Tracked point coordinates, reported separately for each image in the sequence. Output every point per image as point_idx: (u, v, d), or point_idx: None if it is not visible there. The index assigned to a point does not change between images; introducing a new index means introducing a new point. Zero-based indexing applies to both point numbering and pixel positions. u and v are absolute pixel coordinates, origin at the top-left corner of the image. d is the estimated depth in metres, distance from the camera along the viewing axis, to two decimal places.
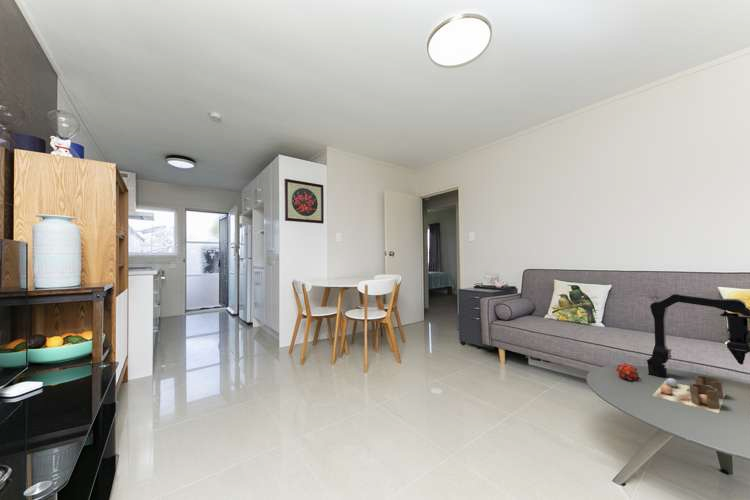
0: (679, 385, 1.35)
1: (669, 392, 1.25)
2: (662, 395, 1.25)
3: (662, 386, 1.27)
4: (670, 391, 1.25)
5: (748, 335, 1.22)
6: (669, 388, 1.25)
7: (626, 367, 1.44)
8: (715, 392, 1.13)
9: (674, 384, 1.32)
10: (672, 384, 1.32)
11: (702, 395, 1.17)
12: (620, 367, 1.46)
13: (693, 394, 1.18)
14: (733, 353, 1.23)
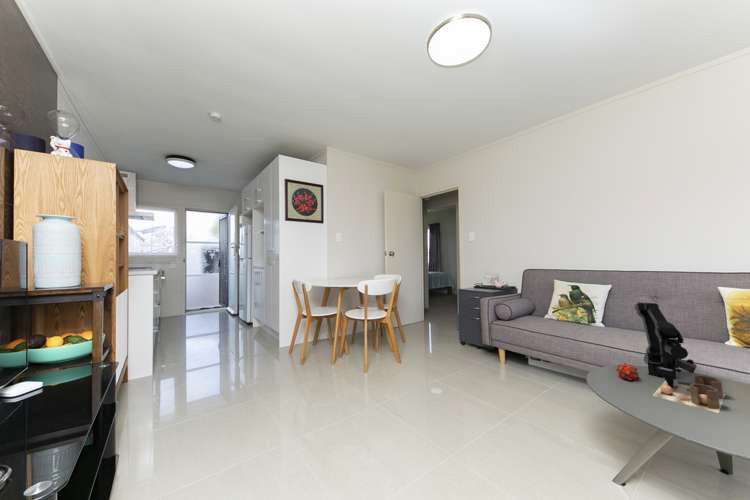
0: (679, 385, 1.35)
1: (669, 392, 1.25)
2: (662, 395, 1.25)
3: (662, 386, 1.27)
4: (670, 391, 1.25)
5: (676, 361, 1.31)
6: (669, 388, 1.25)
7: (626, 367, 1.44)
8: (715, 392, 1.13)
9: (674, 384, 1.32)
10: None
11: (702, 395, 1.17)
12: (620, 367, 1.46)
13: (693, 394, 1.18)
14: (664, 376, 1.33)
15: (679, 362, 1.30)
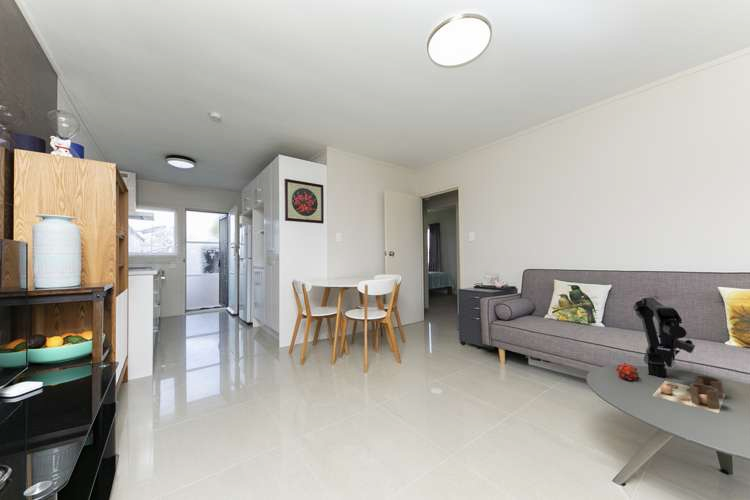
0: (679, 385, 1.35)
1: (669, 392, 1.25)
2: (662, 395, 1.25)
3: (662, 386, 1.27)
4: (670, 391, 1.25)
5: (675, 341, 1.31)
6: (669, 388, 1.25)
7: (626, 367, 1.44)
8: (715, 392, 1.13)
9: (672, 364, 1.32)
10: None
11: (702, 395, 1.17)
12: (620, 367, 1.46)
13: (693, 394, 1.18)
14: (662, 357, 1.34)
15: (677, 342, 1.30)
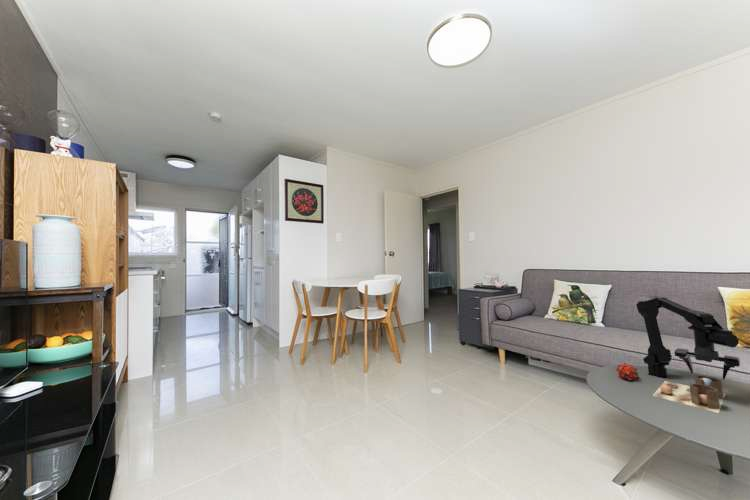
0: (679, 385, 1.35)
1: (669, 392, 1.25)
2: (662, 395, 1.25)
3: (662, 386, 1.27)
4: (670, 391, 1.25)
5: (695, 347, 1.26)
6: (669, 388, 1.25)
7: (626, 367, 1.44)
8: (715, 392, 1.13)
9: None
10: None
11: (702, 395, 1.17)
12: (620, 367, 1.46)
13: (693, 394, 1.18)
14: None
15: (695, 348, 1.26)
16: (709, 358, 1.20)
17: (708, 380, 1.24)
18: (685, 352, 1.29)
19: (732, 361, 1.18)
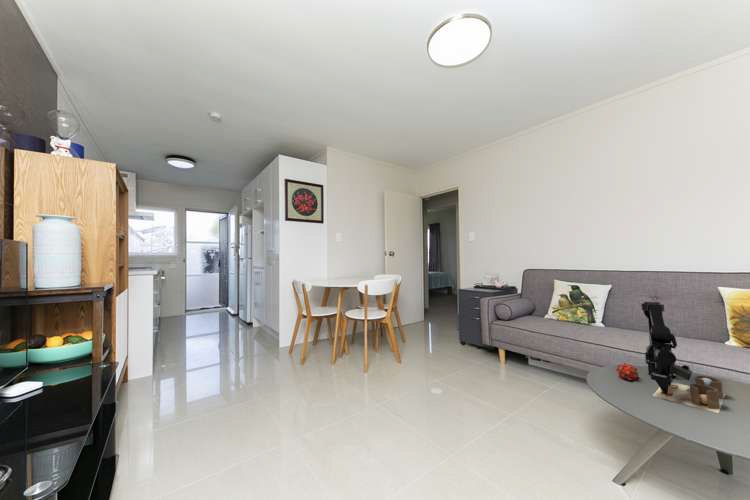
0: (679, 385, 1.35)
1: (669, 392, 1.25)
2: (662, 395, 1.25)
3: None
4: (670, 391, 1.25)
5: (671, 367, 1.24)
6: (669, 388, 1.25)
7: (626, 367, 1.44)
8: (715, 392, 1.13)
9: None
10: None
11: (702, 395, 1.17)
12: (620, 367, 1.46)
13: (693, 394, 1.18)
14: (658, 383, 1.26)
15: (674, 368, 1.23)
16: None
17: (708, 380, 1.24)
18: (669, 375, 1.22)
19: None
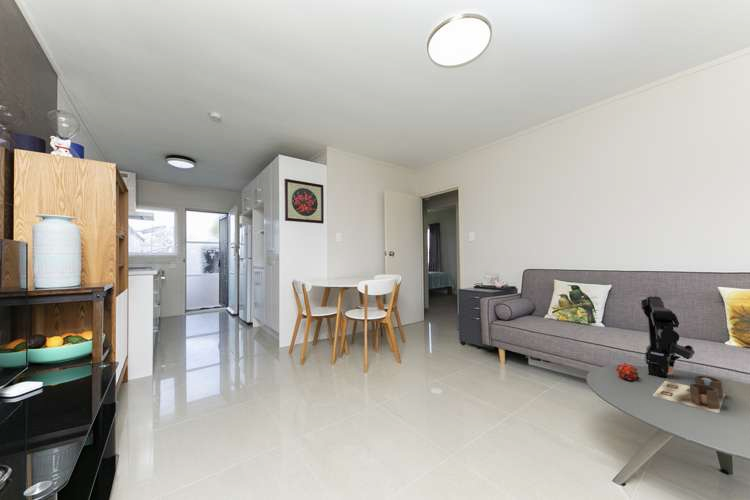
0: (679, 385, 1.35)
1: (670, 372, 1.25)
2: (662, 395, 1.25)
3: None
4: (671, 371, 1.24)
5: (671, 346, 1.23)
6: (670, 368, 1.25)
7: (626, 367, 1.44)
8: (715, 392, 1.13)
9: None
10: None
11: (702, 395, 1.17)
12: (620, 367, 1.46)
13: (693, 394, 1.18)
14: (658, 362, 1.26)
15: (674, 347, 1.23)
16: None
17: (708, 380, 1.24)
18: (668, 354, 1.22)
19: None
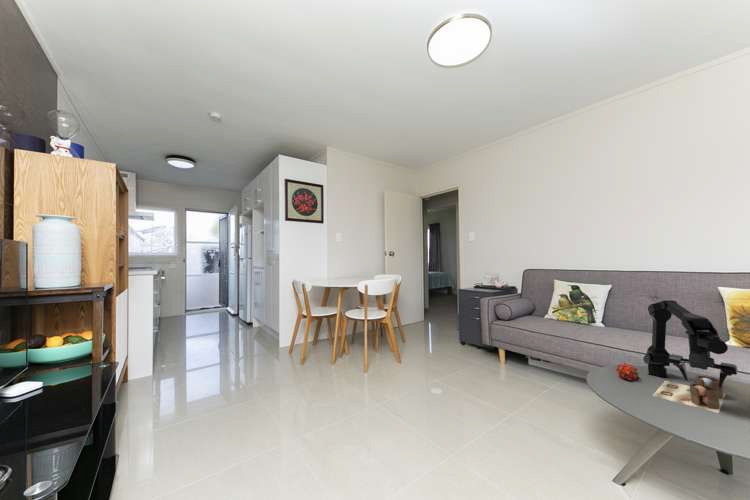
0: (679, 385, 1.35)
1: (702, 395, 1.16)
2: (662, 395, 1.25)
3: None
4: (700, 394, 1.17)
5: None
6: None
7: (626, 367, 1.44)
8: (715, 392, 1.13)
9: None
10: None
11: None
12: (620, 367, 1.46)
13: (693, 394, 1.18)
14: None
15: None
16: (704, 365, 1.12)
17: (708, 380, 1.24)
18: (679, 358, 1.21)
19: (729, 369, 1.10)
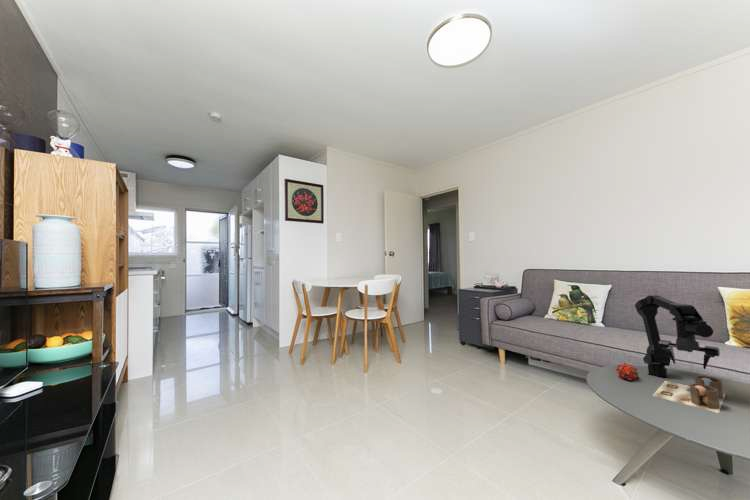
0: (679, 385, 1.35)
1: (702, 395, 1.16)
2: (662, 395, 1.25)
3: None
4: (700, 394, 1.17)
5: (677, 338, 1.29)
6: None
7: (626, 367, 1.44)
8: (715, 392, 1.13)
9: None
10: None
11: None
12: (620, 367, 1.46)
13: (693, 394, 1.18)
14: None
15: None
16: (690, 348, 1.22)
17: (708, 380, 1.24)
18: (667, 343, 1.32)
19: (712, 351, 1.20)
